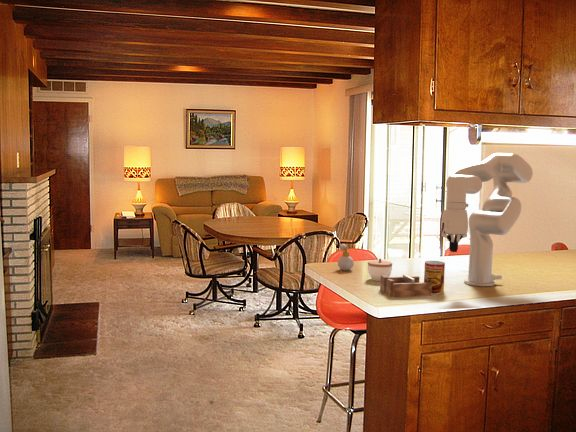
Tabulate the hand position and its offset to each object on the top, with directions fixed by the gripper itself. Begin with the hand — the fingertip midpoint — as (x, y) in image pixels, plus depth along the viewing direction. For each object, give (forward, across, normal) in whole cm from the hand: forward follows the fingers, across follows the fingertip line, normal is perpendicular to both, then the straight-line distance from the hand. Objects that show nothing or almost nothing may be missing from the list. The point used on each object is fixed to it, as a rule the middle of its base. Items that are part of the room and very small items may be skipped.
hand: (453, 251), depth 249 cm
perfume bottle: (+17, +31, -49) cm, 60 cm away
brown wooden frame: (+16, +20, 0) cm, 26 cm away
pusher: (+16, +23, 0) cm, 28 cm away
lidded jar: (+17, +22, -25) cm, 37 cm away
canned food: (+17, +8, 0) cm, 18 cm away
